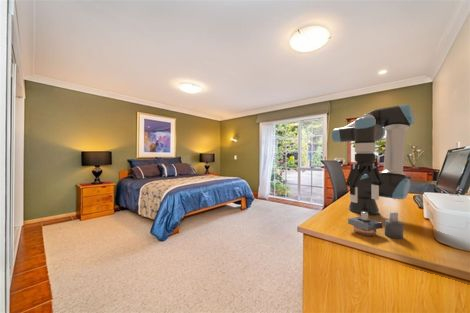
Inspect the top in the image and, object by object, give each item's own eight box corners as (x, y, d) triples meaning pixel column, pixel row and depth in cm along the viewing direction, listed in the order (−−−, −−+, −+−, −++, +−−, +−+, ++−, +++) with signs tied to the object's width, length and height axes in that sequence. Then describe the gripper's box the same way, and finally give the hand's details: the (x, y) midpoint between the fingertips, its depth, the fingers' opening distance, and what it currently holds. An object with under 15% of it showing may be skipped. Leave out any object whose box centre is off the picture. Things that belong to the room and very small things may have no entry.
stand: (390, 232, 85) (390, 209, 85) (406, 237, 80) (406, 213, 80) (381, 234, 83) (381, 211, 83) (397, 239, 78) (397, 215, 78)
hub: (361, 227, 91) (361, 208, 91) (380, 234, 83) (380, 213, 83) (349, 230, 88) (349, 210, 88) (367, 237, 80) (367, 216, 80)
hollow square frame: (361, 221, 91) (361, 216, 91) (382, 227, 83) (382, 222, 83) (348, 223, 88) (348, 218, 88) (367, 230, 79) (367, 225, 79)
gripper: (374, 152, 93) (374, 196, 93) (336, 153, 84) (336, 201, 84) (392, 152, 86) (392, 199, 86) (352, 153, 77) (352, 205, 77)
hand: (364, 200), depth 85 cm, fingers open, 13 cm apart
